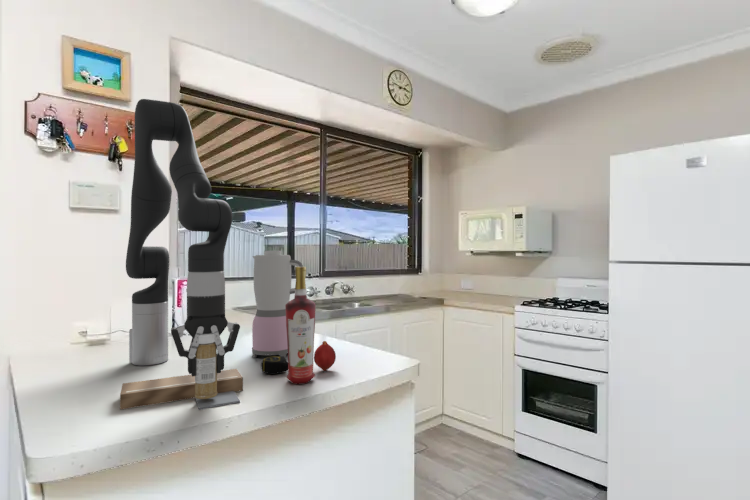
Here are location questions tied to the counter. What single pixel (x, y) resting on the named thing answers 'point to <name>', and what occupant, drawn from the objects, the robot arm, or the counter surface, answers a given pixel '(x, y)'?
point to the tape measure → (274, 365)
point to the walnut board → (173, 389)
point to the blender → (271, 302)
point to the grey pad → (218, 400)
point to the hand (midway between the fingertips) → (206, 373)
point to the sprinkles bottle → (206, 367)
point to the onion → (324, 356)
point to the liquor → (300, 332)
